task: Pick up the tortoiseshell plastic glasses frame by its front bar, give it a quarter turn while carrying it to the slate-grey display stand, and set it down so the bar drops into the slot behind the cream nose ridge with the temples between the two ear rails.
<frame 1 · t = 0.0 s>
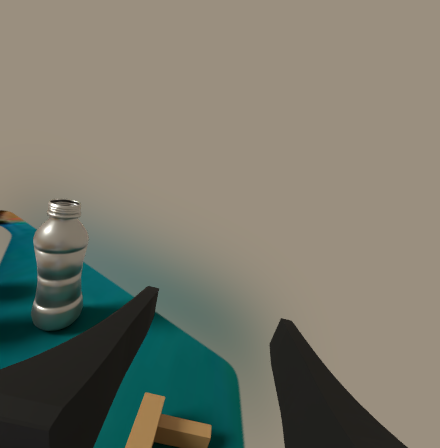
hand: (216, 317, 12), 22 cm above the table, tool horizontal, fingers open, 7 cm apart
plastic bottle: (57, 322, 34), on the table
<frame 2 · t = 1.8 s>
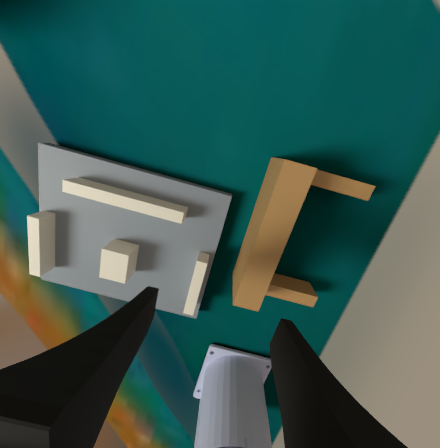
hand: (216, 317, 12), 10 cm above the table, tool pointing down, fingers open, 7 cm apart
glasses: (261, 223, 20), on the table
display stand: (132, 237, 22), on the table
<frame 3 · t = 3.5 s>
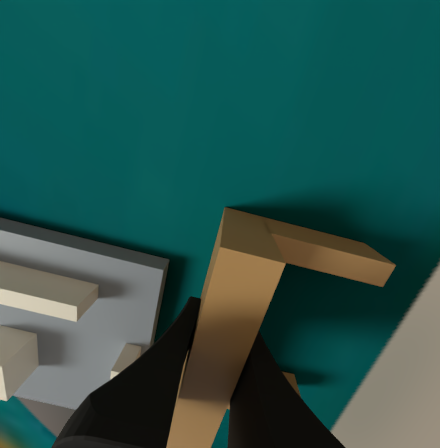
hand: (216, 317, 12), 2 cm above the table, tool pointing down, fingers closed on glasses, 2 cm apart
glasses: (217, 299, 13), on the table, touching gripper
display stand: (34, 315, 15), on the table
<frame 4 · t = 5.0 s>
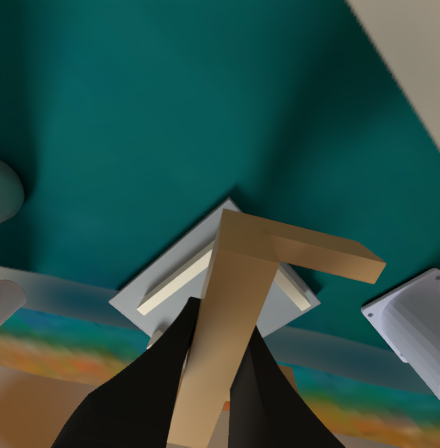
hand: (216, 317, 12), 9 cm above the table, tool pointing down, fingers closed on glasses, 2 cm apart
plastic bottle: (4, 184, 20), on the table
smoothie: (12, 292, 25), on the table
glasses: (217, 296, 14), point 7 cm above the table, touching gripper
display stand: (212, 295, 23), on the table
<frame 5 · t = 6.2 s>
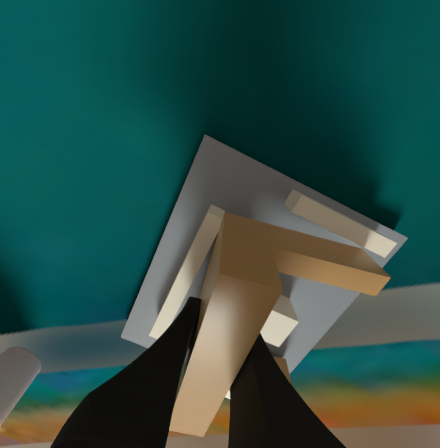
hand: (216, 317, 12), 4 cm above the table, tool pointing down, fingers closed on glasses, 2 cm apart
smoothie: (24, 359, 21), on the table
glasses: (216, 295, 14), point 2 cm above the table, tilted 7°, touching gripper
display stand: (244, 284, 16), on the table
when the fingers open (4 cm above the table, at t = 6.5 s): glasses stays where it is, resting on display stand.
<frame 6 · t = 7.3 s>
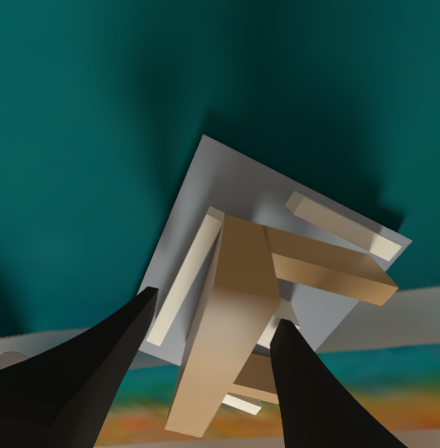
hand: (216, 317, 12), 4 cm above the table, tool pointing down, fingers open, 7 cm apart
smoothie: (20, 363, 21), on the table
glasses: (217, 297, 14), point 2 cm above the table, tilted 9°, touching display stand
display stand: (243, 287, 16), on the table
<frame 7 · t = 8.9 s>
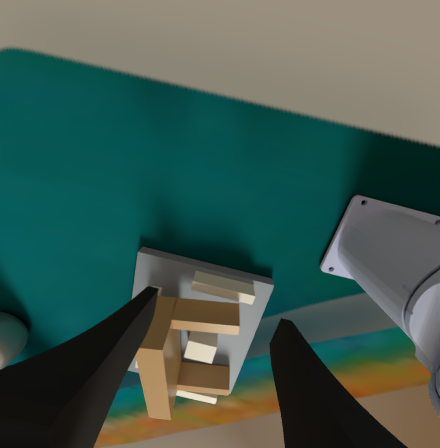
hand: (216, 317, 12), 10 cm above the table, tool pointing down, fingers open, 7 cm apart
plastic bottle: (13, 323, 27), on the table
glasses: (170, 335, 23), point 2 cm above the table, tilted 9°, touching display stand
display stand: (191, 323, 25), on the table
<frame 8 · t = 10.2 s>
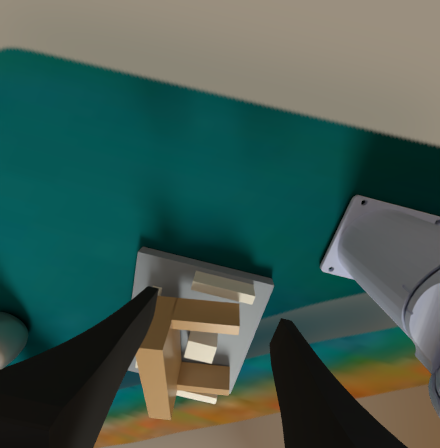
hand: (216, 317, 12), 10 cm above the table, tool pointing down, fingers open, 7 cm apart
plastic bottle: (13, 323, 27), on the table
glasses: (170, 335, 23), point 2 cm above the table, tilted 9°, touching display stand
display stand: (191, 323, 25), on the table
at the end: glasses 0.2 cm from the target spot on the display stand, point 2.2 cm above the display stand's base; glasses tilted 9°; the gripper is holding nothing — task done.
